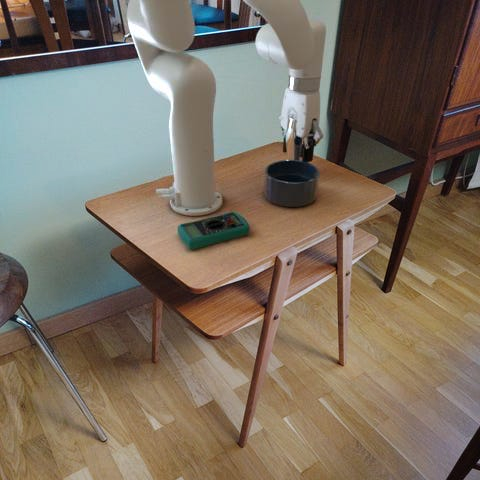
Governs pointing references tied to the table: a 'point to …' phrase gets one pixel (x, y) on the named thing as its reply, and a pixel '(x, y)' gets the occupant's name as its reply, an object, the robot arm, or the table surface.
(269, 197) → the dark blue bowl
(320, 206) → the table surface
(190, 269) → the table surface
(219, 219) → the digital multimeter
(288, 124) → the silver metal tumbler
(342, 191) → the table surface
